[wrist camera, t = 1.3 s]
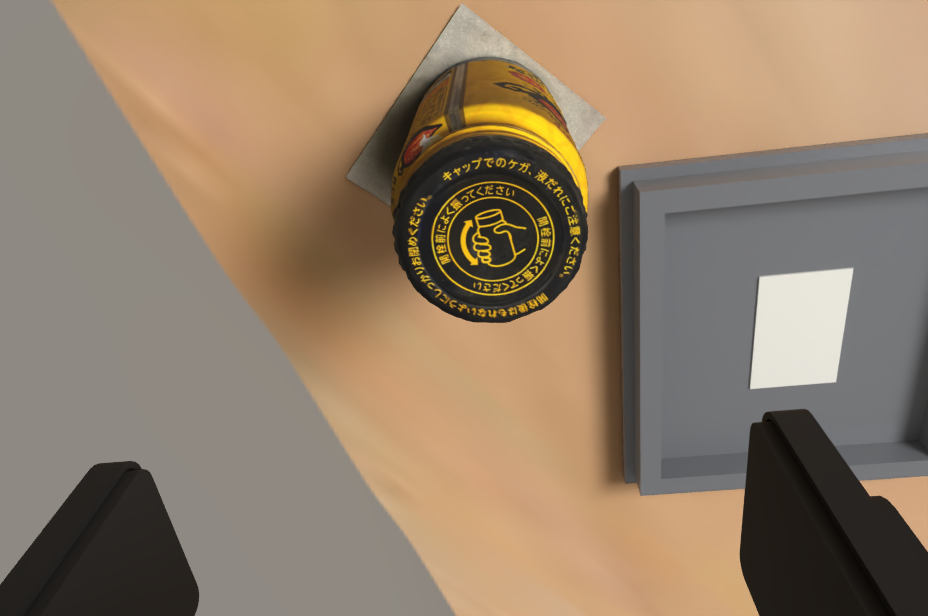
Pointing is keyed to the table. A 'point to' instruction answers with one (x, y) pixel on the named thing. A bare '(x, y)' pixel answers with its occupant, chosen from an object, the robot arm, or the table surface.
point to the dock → (774, 308)
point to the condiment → (483, 176)
